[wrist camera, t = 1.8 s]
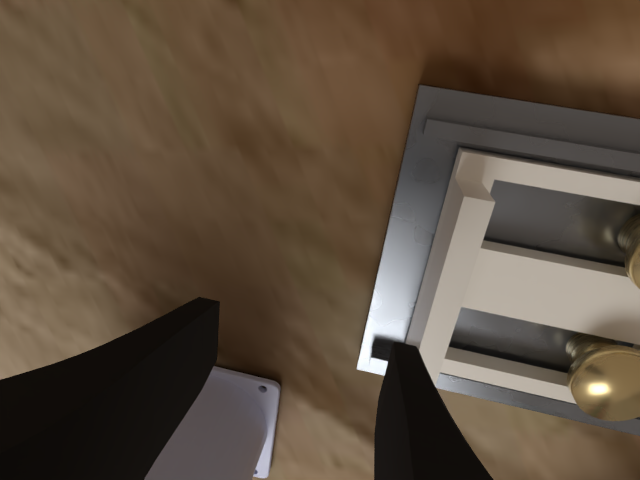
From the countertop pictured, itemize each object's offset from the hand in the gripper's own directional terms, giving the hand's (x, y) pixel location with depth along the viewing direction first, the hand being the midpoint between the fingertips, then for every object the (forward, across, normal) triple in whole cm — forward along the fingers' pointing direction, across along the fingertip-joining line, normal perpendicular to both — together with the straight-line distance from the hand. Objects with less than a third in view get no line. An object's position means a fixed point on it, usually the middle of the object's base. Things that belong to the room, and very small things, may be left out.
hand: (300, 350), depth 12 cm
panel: (+8, -9, 0) cm, 12 cm away
